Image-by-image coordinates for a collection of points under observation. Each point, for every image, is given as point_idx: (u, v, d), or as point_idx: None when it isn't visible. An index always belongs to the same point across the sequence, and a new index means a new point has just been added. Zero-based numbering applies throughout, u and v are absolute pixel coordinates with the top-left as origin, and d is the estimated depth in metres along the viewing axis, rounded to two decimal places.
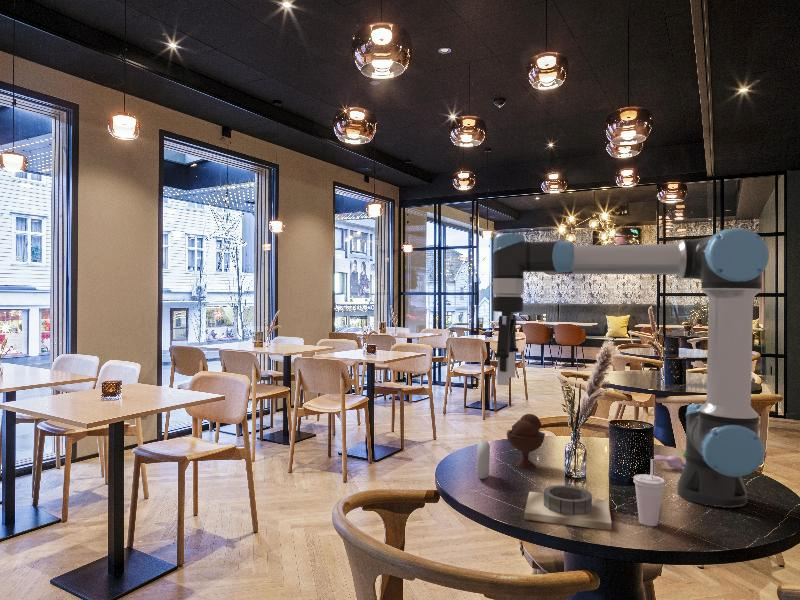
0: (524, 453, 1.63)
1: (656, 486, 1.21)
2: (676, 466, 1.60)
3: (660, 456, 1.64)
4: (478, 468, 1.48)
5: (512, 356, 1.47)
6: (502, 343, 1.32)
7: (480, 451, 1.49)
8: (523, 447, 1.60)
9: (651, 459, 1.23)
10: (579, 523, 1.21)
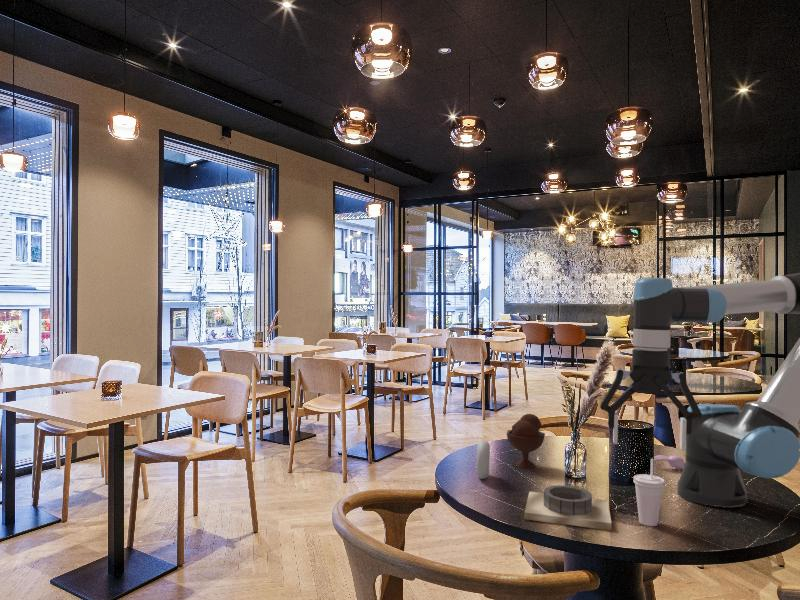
0: (524, 453, 1.63)
1: (656, 486, 1.21)
2: (678, 466, 1.60)
3: (662, 456, 1.64)
4: (478, 468, 1.48)
5: (681, 424, 1.21)
6: (605, 396, 1.26)
7: (480, 451, 1.49)
8: (523, 447, 1.60)
9: (651, 459, 1.23)
10: (579, 523, 1.21)
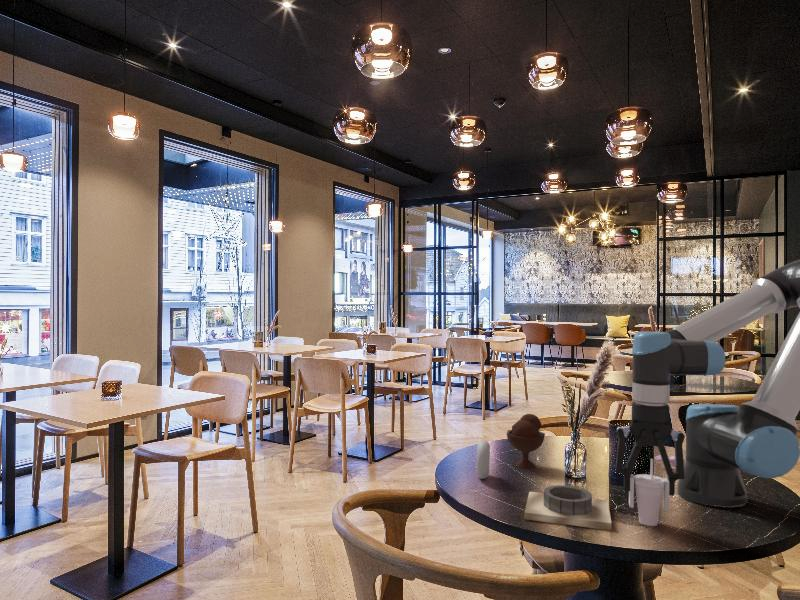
0: (524, 453, 1.63)
1: (656, 486, 1.21)
2: None
3: None
4: (478, 468, 1.48)
5: (665, 485, 1.22)
6: (616, 458, 1.26)
7: (480, 451, 1.49)
8: (523, 447, 1.60)
9: (651, 459, 1.23)
10: (579, 523, 1.21)
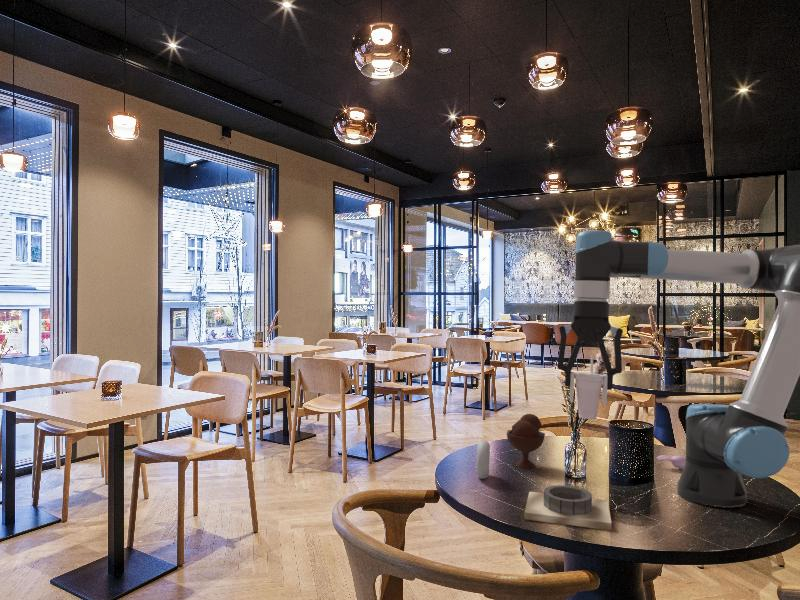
0: (524, 453, 1.63)
1: (594, 379, 1.24)
2: (681, 466, 1.60)
3: (665, 456, 1.64)
4: (478, 468, 1.48)
5: None
6: None
7: (480, 451, 1.49)
8: (523, 447, 1.60)
9: (591, 355, 1.27)
10: (579, 523, 1.21)
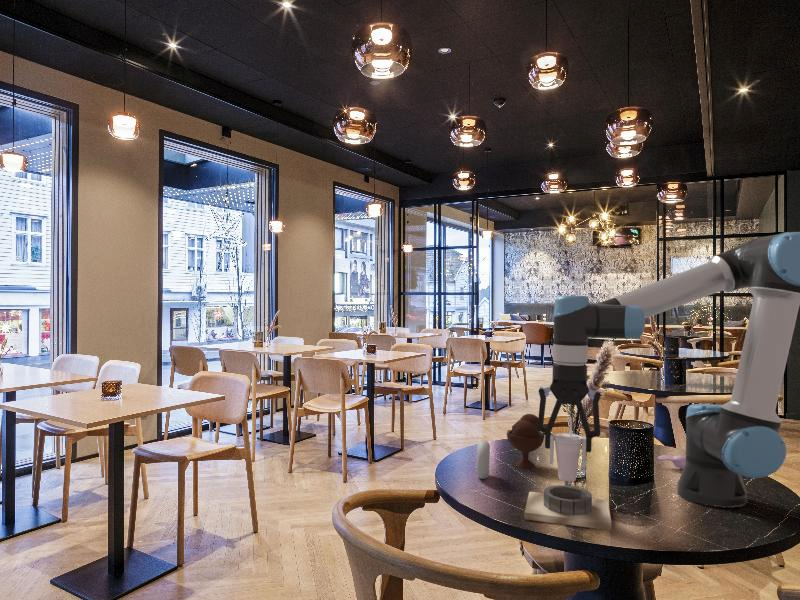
0: (524, 453, 1.63)
1: (573, 442, 1.26)
2: (682, 466, 1.60)
3: (666, 456, 1.64)
4: (478, 468, 1.48)
5: None
6: None
7: (480, 451, 1.49)
8: (523, 447, 1.60)
9: (570, 417, 1.28)
10: (579, 523, 1.21)
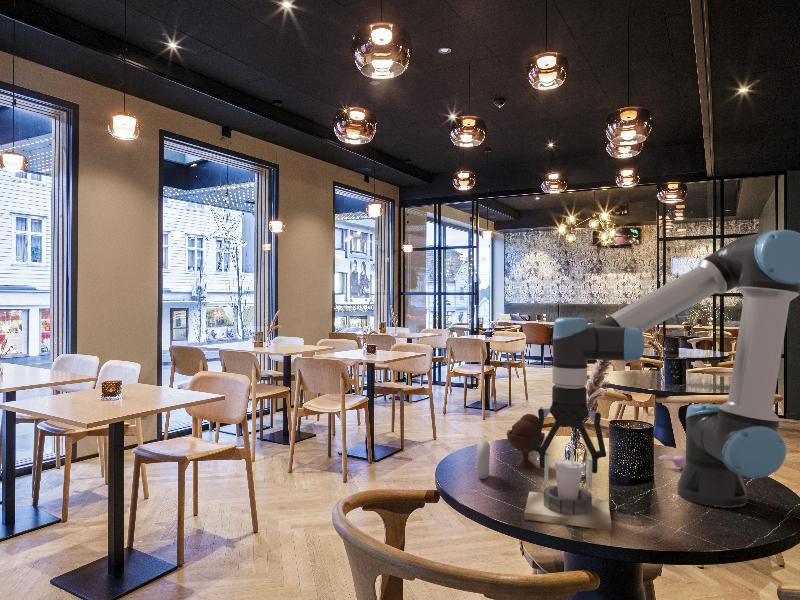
0: (524, 453, 1.63)
1: (574, 471, 1.26)
2: (683, 466, 1.60)
3: (667, 456, 1.64)
4: (478, 468, 1.48)
5: (588, 463, 1.27)
6: None
7: (480, 451, 1.49)
8: (523, 447, 1.60)
9: (571, 445, 1.28)
10: (579, 523, 1.21)
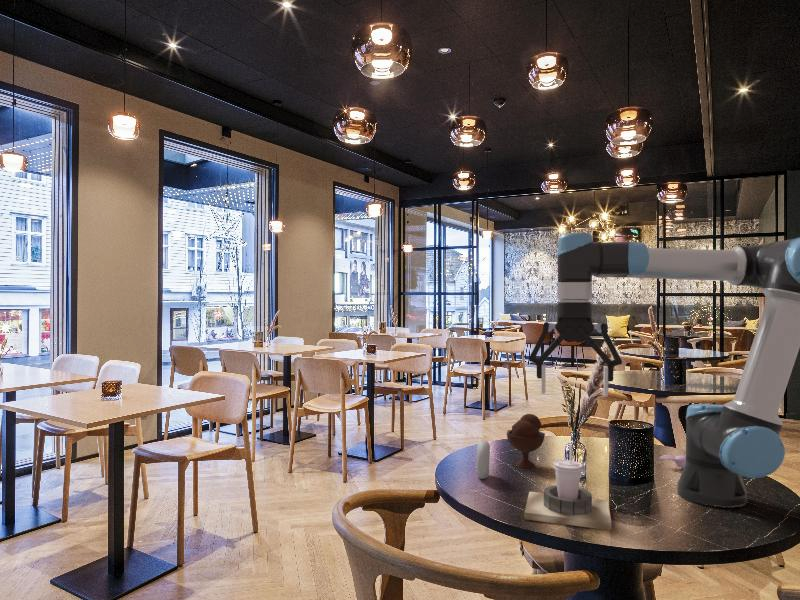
0: (524, 453, 1.63)
1: (573, 471, 1.26)
2: None
3: (668, 456, 1.64)
4: (478, 468, 1.48)
5: (604, 371, 1.27)
6: None
7: (480, 451, 1.49)
8: (523, 447, 1.60)
9: (570, 445, 1.28)
10: (579, 523, 1.21)
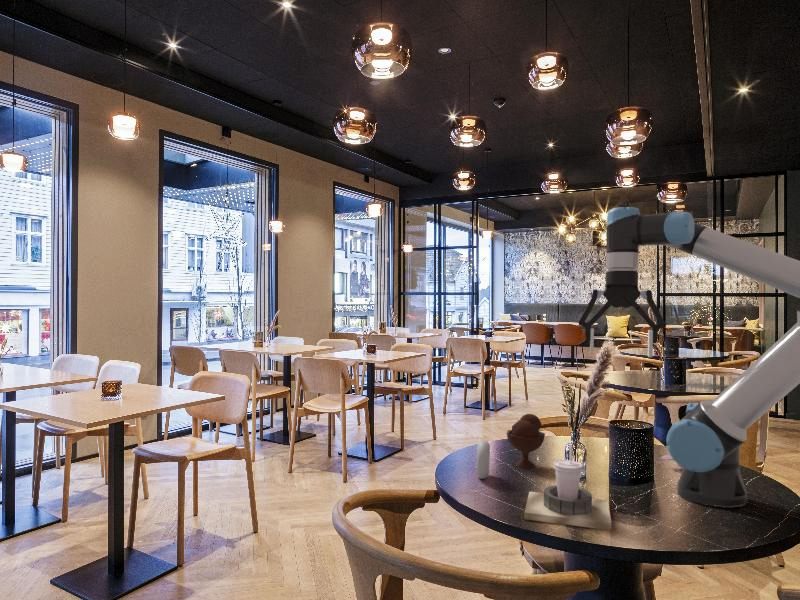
0: (524, 453, 1.63)
1: (573, 471, 1.26)
2: None
3: (670, 456, 1.64)
4: (478, 468, 1.48)
5: (649, 334, 1.39)
6: None
7: (480, 451, 1.49)
8: (523, 447, 1.60)
9: (570, 445, 1.28)
10: (579, 523, 1.21)
